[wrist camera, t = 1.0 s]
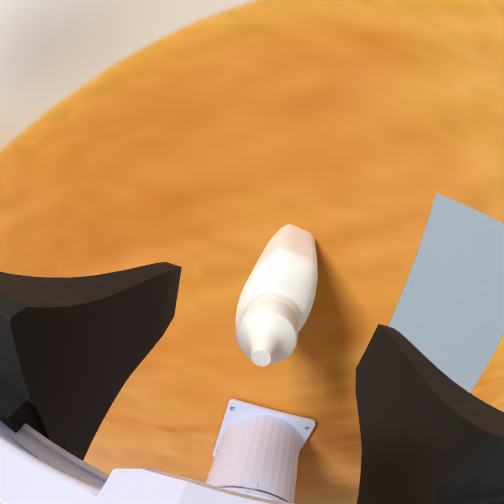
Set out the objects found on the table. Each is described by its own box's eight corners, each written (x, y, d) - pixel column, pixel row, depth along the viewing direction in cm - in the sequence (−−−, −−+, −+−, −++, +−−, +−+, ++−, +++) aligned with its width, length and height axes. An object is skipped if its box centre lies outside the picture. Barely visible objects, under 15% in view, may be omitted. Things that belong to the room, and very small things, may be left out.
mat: (465, 399, 22) (465, 399, 22) (360, 382, 23) (360, 382, 23) (538, 242, 18) (539, 243, 18) (435, 192, 19) (436, 192, 19)
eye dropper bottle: (335, 264, 21) (363, 360, 10) (272, 308, 23) (240, 424, 11) (298, 214, 21) (288, 263, 9) (235, 262, 23) (166, 348, 11)
